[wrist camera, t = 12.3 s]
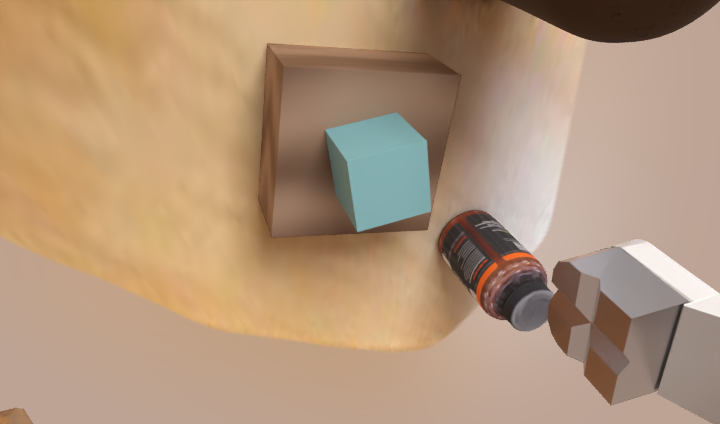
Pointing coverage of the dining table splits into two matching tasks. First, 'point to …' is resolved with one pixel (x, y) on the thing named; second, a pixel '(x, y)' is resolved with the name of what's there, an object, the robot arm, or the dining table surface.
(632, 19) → the olive oil
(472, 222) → the supplement bottle
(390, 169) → the teal cube
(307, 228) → the walnut block
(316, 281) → the dining table surface
